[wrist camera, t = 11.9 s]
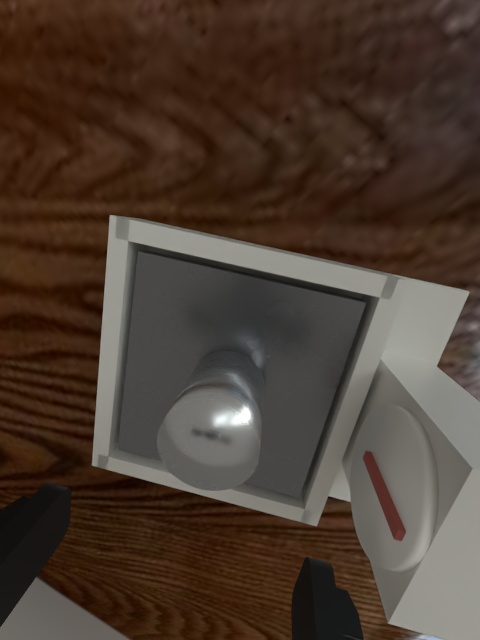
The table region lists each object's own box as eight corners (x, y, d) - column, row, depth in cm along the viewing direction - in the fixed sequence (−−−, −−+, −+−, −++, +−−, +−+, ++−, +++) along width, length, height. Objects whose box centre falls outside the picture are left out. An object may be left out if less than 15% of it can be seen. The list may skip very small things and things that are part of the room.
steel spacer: (272, 360, 19) (270, 418, 13) (255, 424, 20) (247, 501, 14) (197, 342, 19) (163, 391, 13) (186, 407, 20) (151, 476, 14)
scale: (460, 288, 20) (720, 366, 8) (369, 497, 25) (449, 723, 13) (140, 218, 21) (-28, 198, 9) (118, 431, 26) (-6, 586, 15)
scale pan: (360, 298, 18) (366, 302, 17) (297, 484, 22) (299, 497, 21) (146, 250, 19) (138, 251, 18) (125, 439, 23) (117, 449, 22)
